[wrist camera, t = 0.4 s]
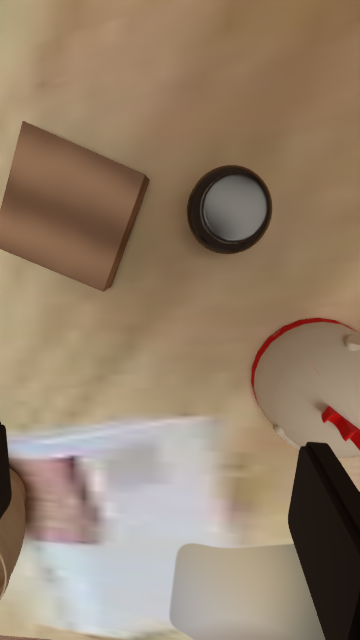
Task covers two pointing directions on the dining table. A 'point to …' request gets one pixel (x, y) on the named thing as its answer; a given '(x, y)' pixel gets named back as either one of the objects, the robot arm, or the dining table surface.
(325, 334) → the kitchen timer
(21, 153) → the base block
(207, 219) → the supplement bottle
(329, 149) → the dining table surface
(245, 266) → the dining table surface
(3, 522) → the planter bowl
